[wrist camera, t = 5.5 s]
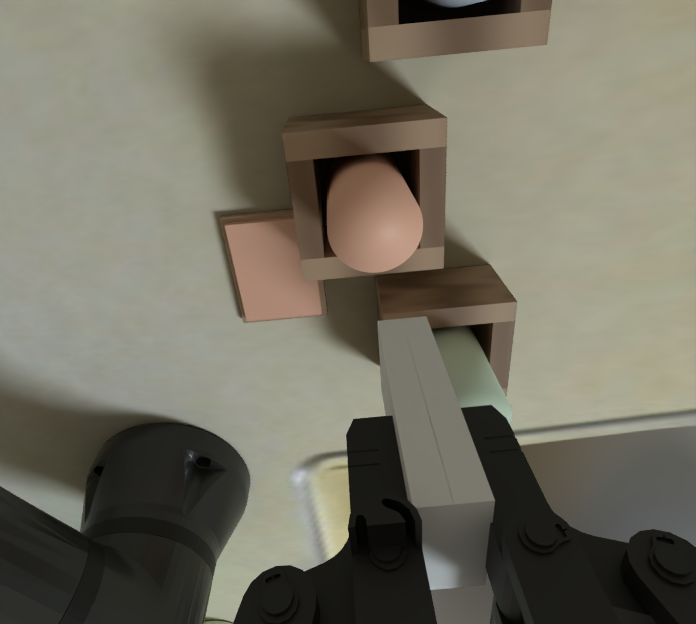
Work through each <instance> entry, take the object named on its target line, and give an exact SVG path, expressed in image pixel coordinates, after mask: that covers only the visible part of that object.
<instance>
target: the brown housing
mask: <svg viewBox="0 0 696 624" xmlns="http://www.w3.org/2000/svg"><path fill="white" fill-rule="evenodd" d="M282 140H283V146H284V153H285V160H286V166H287V173H288V180H289V186H290V193H291V200H292V207H293V213H294V220H295V227H296V233H297V240H298V247H299V253H300V260H301V267H302V273H303V280H304V282H305V281H315V280H326V279H336V278H347V277H358V276H368V275H379V274H389V273H400V272H410V271H421V270H432V269H442V268H444V238H445V193H446V148H447V117H445V116H444V115H442V114H441V113H439V112H438V111H436V110H435V109H433V108H431V107H430V106H428V105H427V104H425V105H414V106H404V107H394V108H384V109H373V110H363V111H353V112H343V113H332V114H322V115H312V116H302V117H291V118H289V119H288V121H287V123H286V126H285V128H284V130H283V132H282ZM394 151H405V182H406V184H407V186H408V187H409V189H410V191H411V193H412V195H413V196H414V198H415V200H416V202H417V204H418V205H419V207H420V210H421V213H422V218H423V232H422V237H421V240H420V243H419V245H418V247H417V248H416V250H415V251H414V253H413V254H412V255H411V256H410V257H409V258H408V259H407V260H406V261H405V262H404V263H402V264H401V265H399V266H397V267H396V268H393V269H391V270H388V271H384V272H378V273H368V272H362V271H358V270H355V269H353V268H351V267H349V266H347V265H346V264H344V263H343V262H342V261H341V260H340V259H339V258H338V257H337V256H336V254H335V253H334V251H333V250H332V248H331V246H330V243H329V240H328V235H327V225H325V223H324V214H323V206H322V197H321V188H320V180H319V171H318V162H317V159H322V158H332V157H343V156H353V155H363V154H374V153H384V152H394Z"/></svg>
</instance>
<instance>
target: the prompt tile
mask: <svg viewBox="0 0 696 624" xmlns="http://www.w3.org/2000/svg"><path fill="white" fill-rule="evenodd" d="M219 220H220V224H221V228H222V233H223V237H224V241H225V245H226V250H227V254H228V258H229V262H230V267H231V271H232V275H233V279H234V284H235V288H236V292H237V296H238V301H239V305H240V309H241V313H242V318H243V322H244V323H248V322H259V321H269V320H280V319H291V318H301V317H312V316H323V315H327V305H326V297H325V289H324V281H323V280H315V281H305V282H304V280H303V273H302V267H301V260H300V253H299V247H298V240H297V233H296V227H295V220H294V213H293V209H289V210H279V211H269V212H258V213H248V214H237V215H227V216H220V218H219Z"/></svg>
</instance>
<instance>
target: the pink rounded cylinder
mask: <svg viewBox="0 0 696 624" xmlns="http://www.w3.org/2000/svg"><path fill="white" fill-rule="evenodd" d="M422 232H423V218H422V213H421V210H420V207H419V205H418V204H417V202H416V200H415V198H414V196H413V195H412V193H411V191H410V189H409V187H408V186H407V184H406V182H405V180H404V178H403V177H402V175H401V173H400V171H399V169H398V168H397V166H396V164H395V162H394V161H393V159H392V158H391V157H390V156H389V155H388V154H387V153H386V152H384V153H374V154H363V155H353V156H343V157H337V158H336V159H335V160H334V162H333V163H332V165H331V167H330V169H329V172H328V176H327V235H328V240H329V243H330V246H331V248H332V250H333V251H334V253H335V254H336V256H337V257H338V258H339V259H340V260H341V261H342V262H343V263H344V264H346V265H347V266H349V267H351V268H353V269H355V270H358V271H362V272H368V273H378V272H384V271H388V270H391V269H393V268H396V267H397V266H399V265H401V264H402V263H404V262H405V261H406V260H407V259H408V258H409V257H410V256H411V255H412V254H413V253H414V251H415V250H416V248H417V247H418V245H419V243H420V240H421V237H422Z"/></svg>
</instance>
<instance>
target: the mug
mask: <svg viewBox="0 0 696 624" xmlns="http://www.w3.org/2000/svg"><path fill="white" fill-rule="evenodd" d="M204 624H233V623H229V622H225V621H205V622H204Z"/></svg>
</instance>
